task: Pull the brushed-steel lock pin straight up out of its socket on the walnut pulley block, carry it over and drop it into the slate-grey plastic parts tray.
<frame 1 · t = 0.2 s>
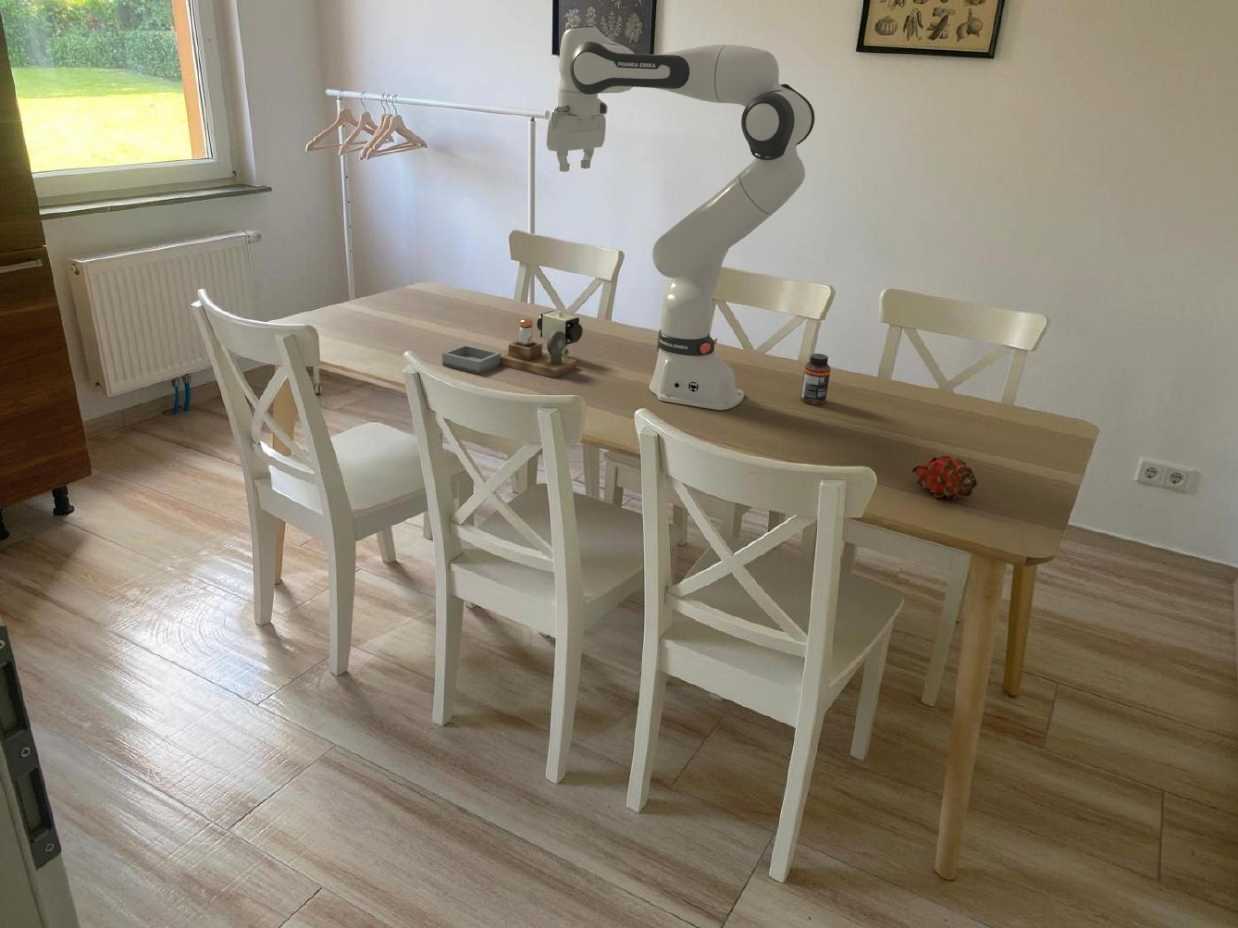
hand: (575, 170, 209), 47 cm above the table, fingers open, 8 cm apart
supplement bottle: (812, 402, 214), on the table
lock pin: (525, 355, 226), point 2 cm above the table, touching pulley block
parts tray: (471, 364, 223), on the table
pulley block: (538, 366, 226), on the table
dragon fruit: (939, 496, 171), on the table
pneumatic valve: (559, 357, 234), on the table
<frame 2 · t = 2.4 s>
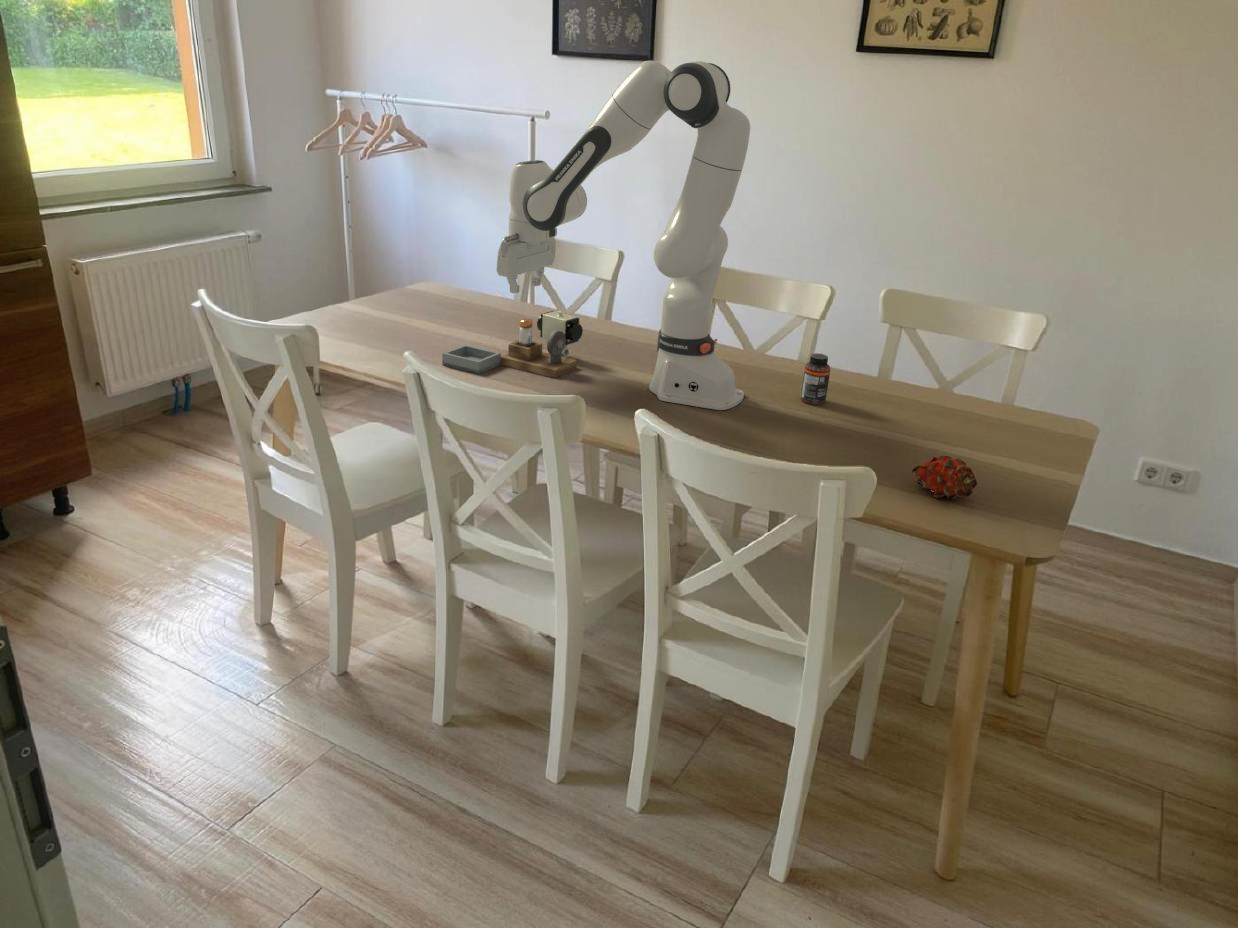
hand: (525, 289, 219), 19 cm above the table, fingers open, 8 cm apart
nothing on the table moved.
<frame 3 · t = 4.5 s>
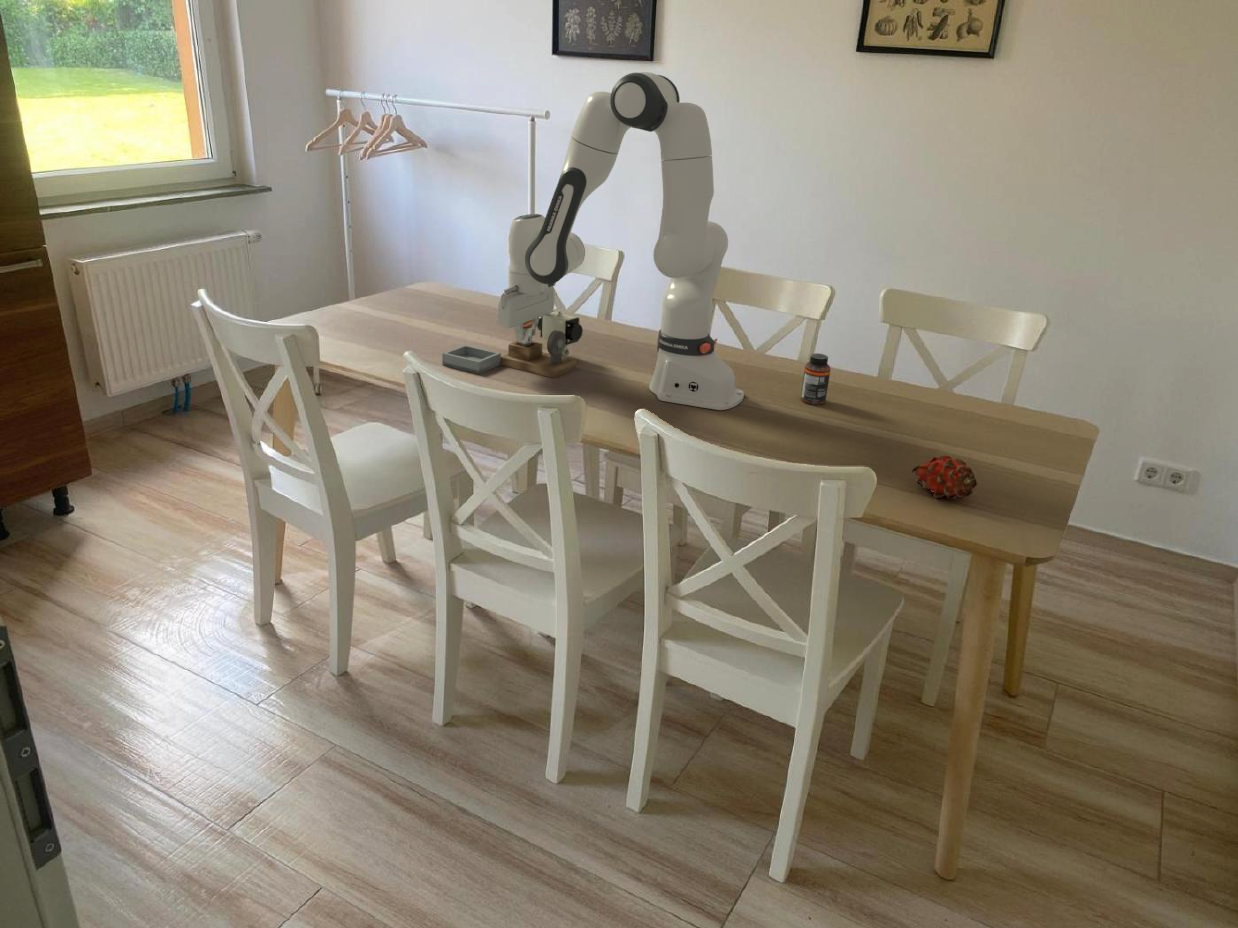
hand: (525, 337, 224), 7 cm above the table, fingers closed on lock pin, 3 cm apart
lock pin: (525, 355, 226), point 2 cm above the table, touching gripper, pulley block
everything else where it was.
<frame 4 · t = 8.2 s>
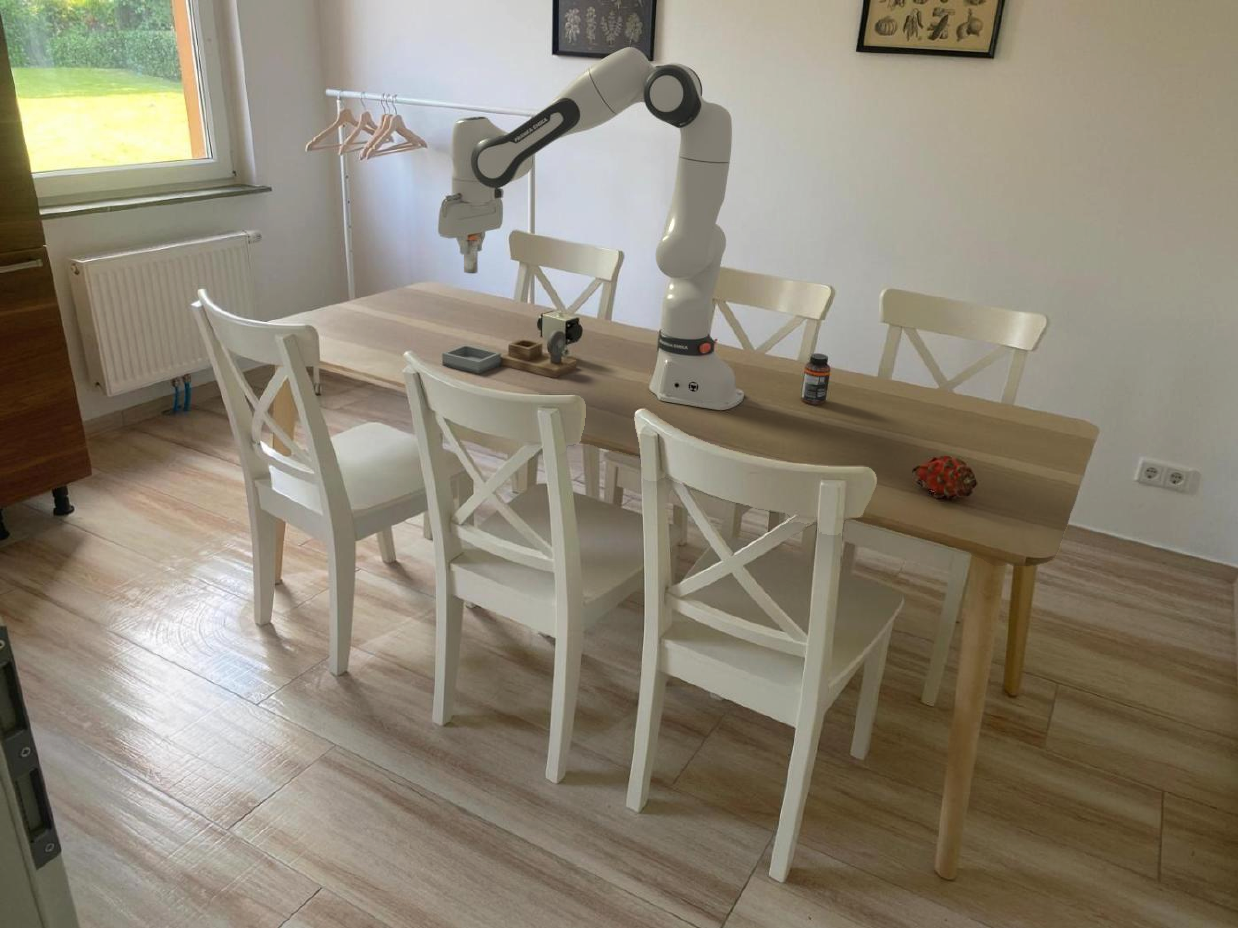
hand: (471, 252, 212), 28 cm above the table, fingers closed on lock pin, 3 cm apart
lock pin: (470, 272, 214), point 23 cm above the table, touching gripper
everything else where it was.
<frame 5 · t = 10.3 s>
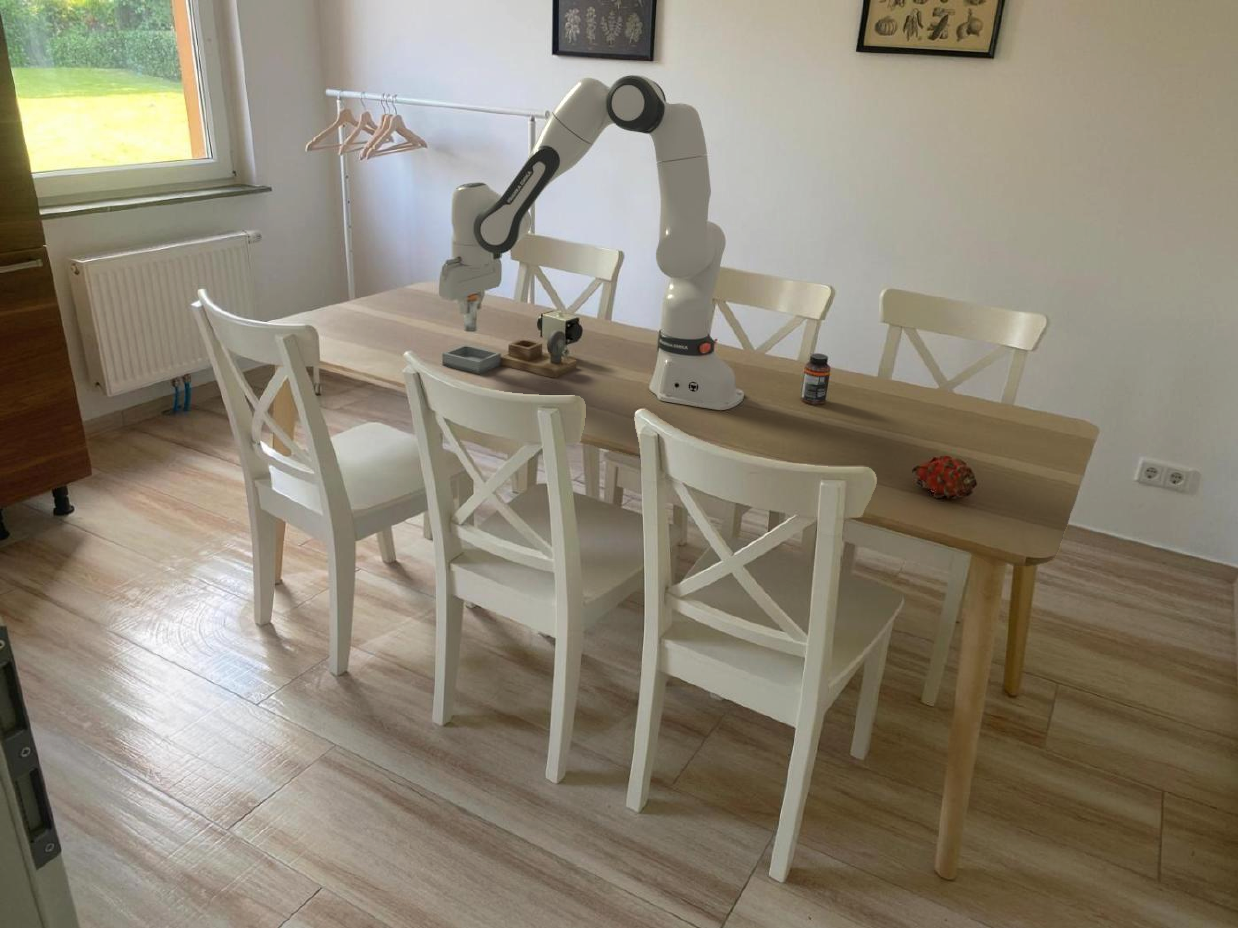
hand: (470, 311, 218), 13 cm above the table, fingers closed on lock pin, 3 cm apart
lock pin: (470, 329, 220), point 9 cm above the table, touching gripper
everything else where it was.
when the fingers open (8 cm above the table, at t = 12.0 s): lock pin drops 2 cm, resting on parts tray.
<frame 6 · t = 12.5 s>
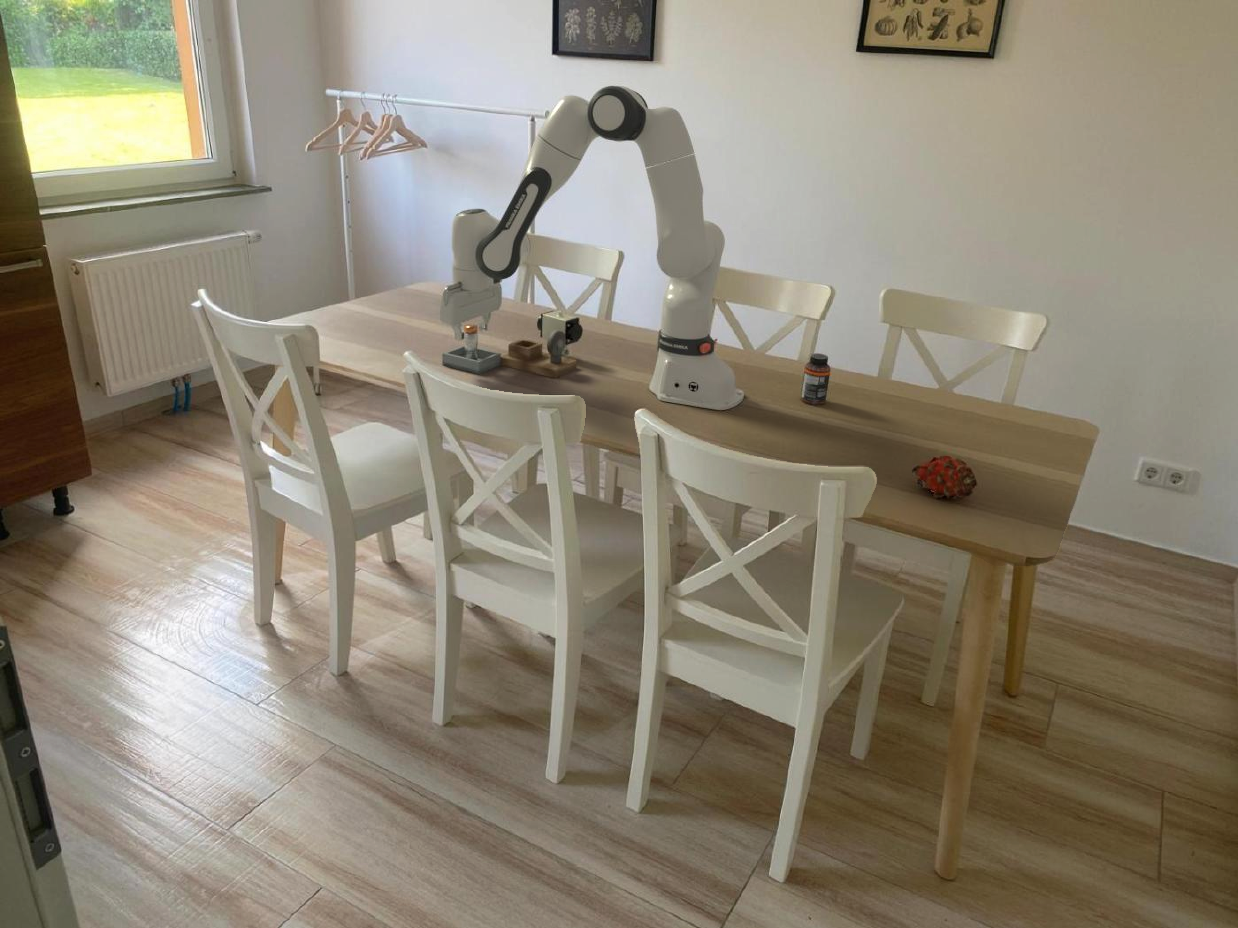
hand: (471, 335, 220), 8 cm above the table, fingers open, 8 cm apart
lock pin: (471, 361, 223), point 1 cm above the table, touching parts tray
everything else where it was.
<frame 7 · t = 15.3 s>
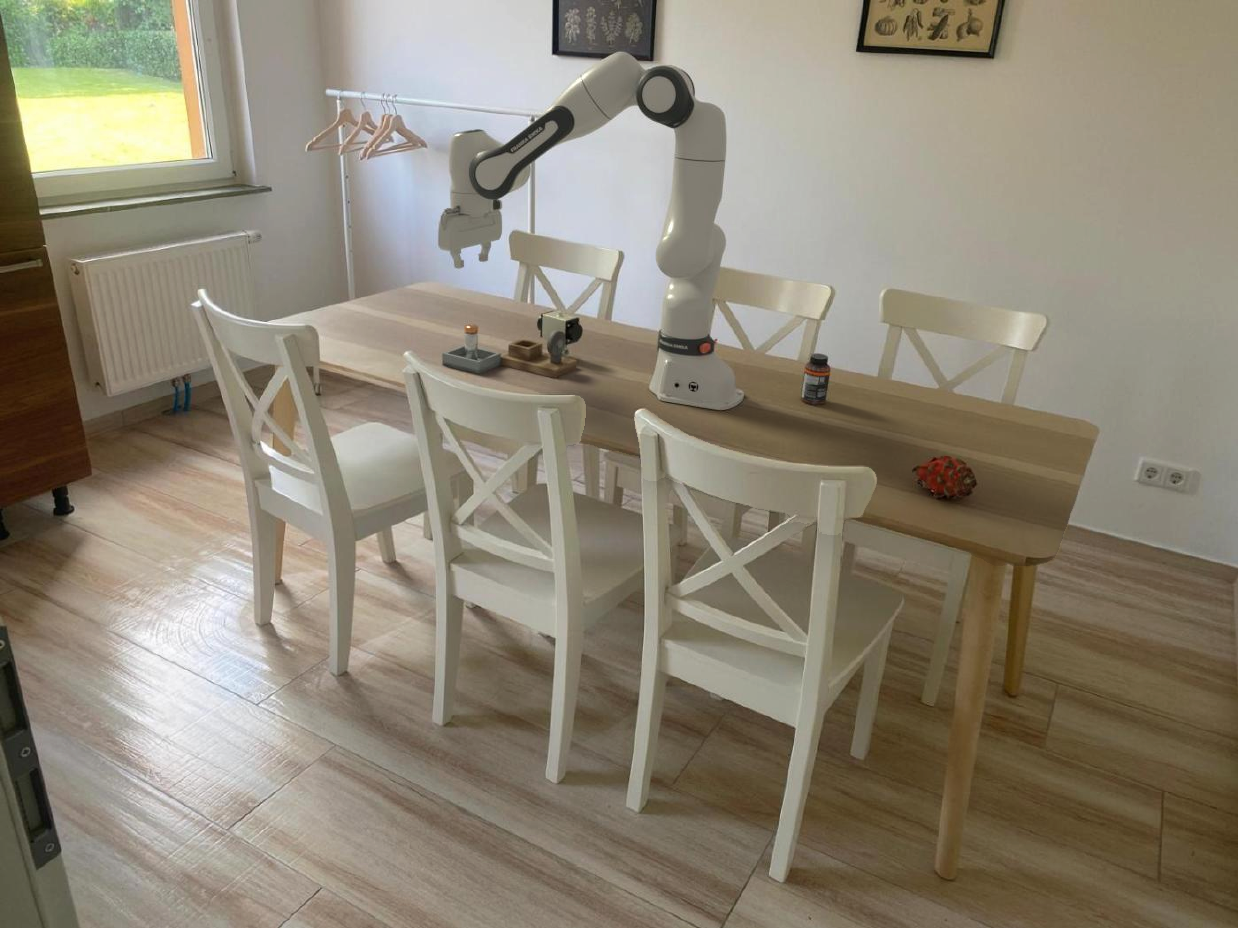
hand: (471, 264, 213), 25 cm above the table, fingers open, 8 cm apart
nothing on the table moved.
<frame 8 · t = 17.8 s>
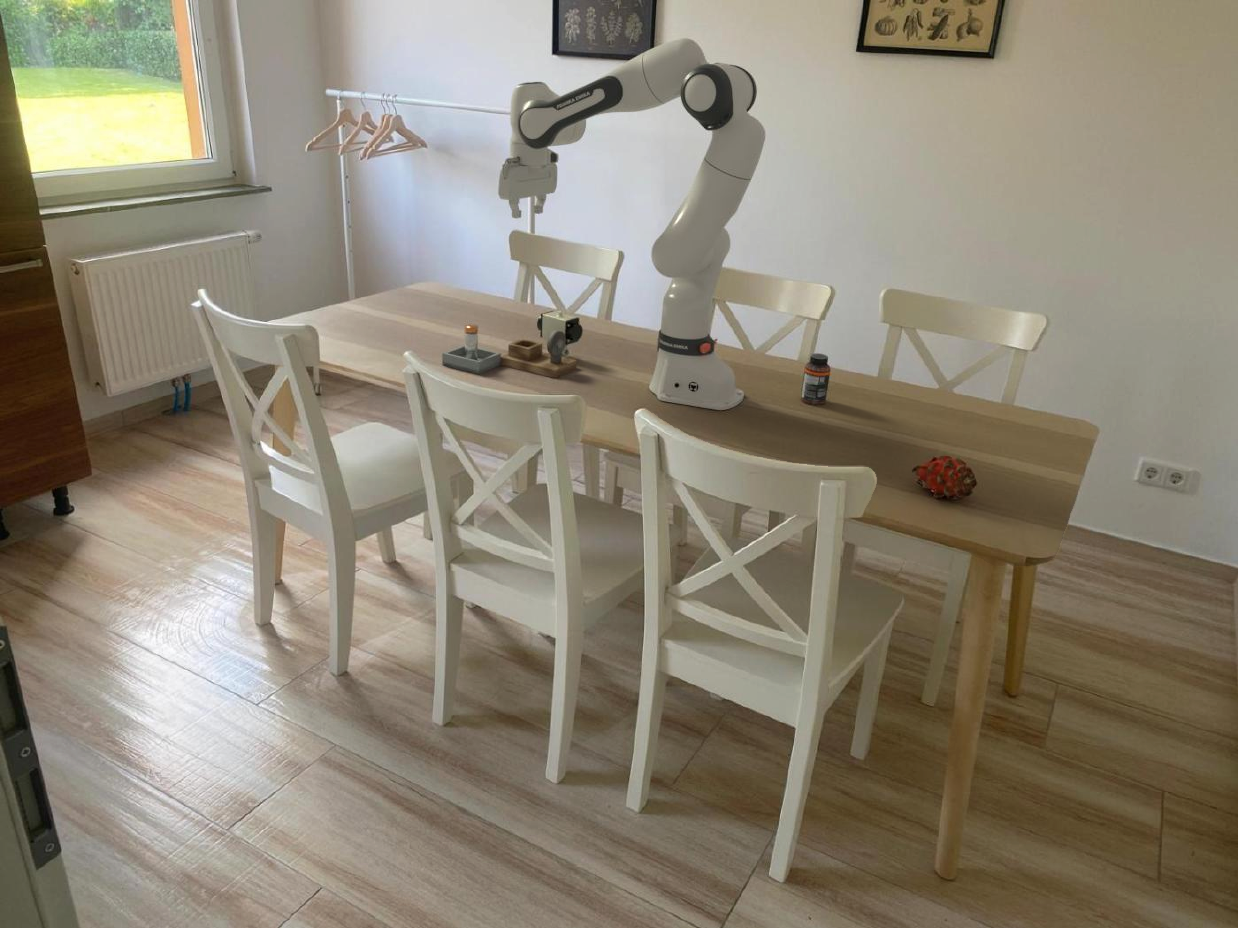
hand: (527, 215, 219), 35 cm above the table, fingers open, 8 cm apart
nothing on the table moved.
at the end: lock pin inside the target area on the parts tray (0.0 cm from its centre), point 0.8 cm above the parts tray's base; lock pin touching parts tray; the gripper is holding nothing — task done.
